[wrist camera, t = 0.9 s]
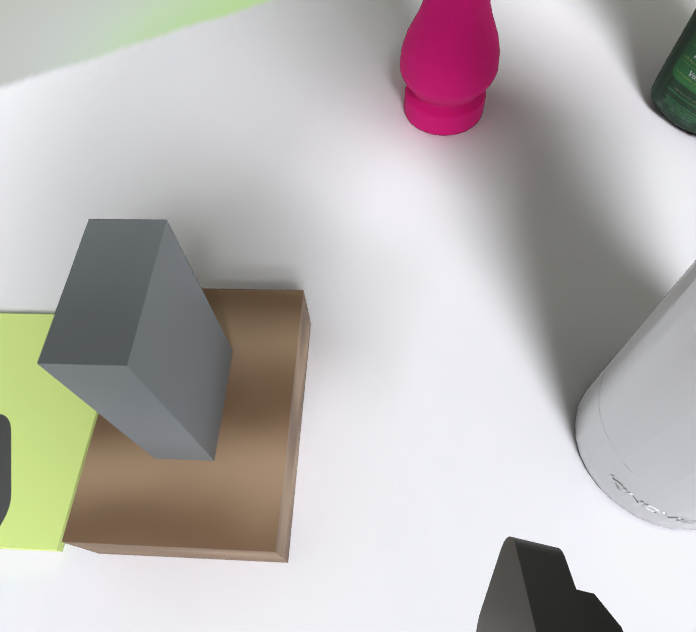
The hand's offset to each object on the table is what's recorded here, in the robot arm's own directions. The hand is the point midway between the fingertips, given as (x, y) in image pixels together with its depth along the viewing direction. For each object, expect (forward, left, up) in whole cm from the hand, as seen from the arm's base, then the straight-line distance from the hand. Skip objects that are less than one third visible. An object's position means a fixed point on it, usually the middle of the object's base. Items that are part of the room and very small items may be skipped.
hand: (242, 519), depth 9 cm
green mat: (+2, -21, -22) cm, 30 cm away
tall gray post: (-4, -11, -18) cm, 21 cm away
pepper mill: (-34, -12, -22) cm, 42 cm away
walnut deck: (-4, -11, -22) cm, 25 cm away
